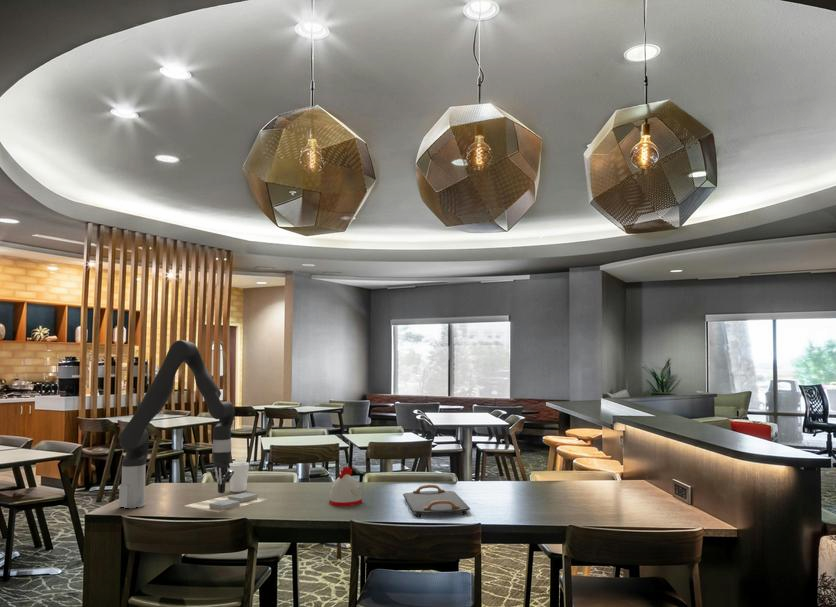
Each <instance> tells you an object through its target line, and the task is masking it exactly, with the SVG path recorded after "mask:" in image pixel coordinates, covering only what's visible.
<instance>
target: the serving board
mask: <svg viewBox="0 0 836 607" xmlns="http://www.w3.org/2000/svg"><path fill="white" fill-rule="evenodd" d="M423 489H437V490H424V491H422V490H423ZM402 496H403V498H404V500H405V501H406V504H407V506H408V508H409V509H410V510H411V512H412V513H415V517H416V518H421V517H422V514H449V513H457V512H461V515H463V516H465V515H468V511H470V510H471V508H470V507H469V505H467V503H466V502H465V501H464V500H463V499H462V498H461V497H460V496H459V494H457V493H456V492H455V491H453V490H452V491H451V490H445V489H442V488H441V487H440V486H438V485H436V484H424V485H420V486H419V487H418V488H417V489H416V490H413V491H411V492H404V493H403V494H402Z"/></svg>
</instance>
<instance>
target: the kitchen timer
mask: <svg viewBox="0 0 836 607" xmlns="http://www.w3.org/2000/svg"><path fill="white" fill-rule="evenodd" d="M352 473H353V468H351V466H343V467H342V470H340V473H338V477H337V478H336V480H335V481H334V482H333V485H331V486H330V492H329V496H328V497H329V498H328V504H329V505H331V506H333V507H352V506H357V505H360V504H362V502H363V496H362V490H361V488H362V487H361V486H359V483H358V482H357V481H356V479H355V478H354V477H353V476H352Z"/></svg>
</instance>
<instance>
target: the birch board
mask: <svg viewBox="0 0 836 607" xmlns="http://www.w3.org/2000/svg"><path fill="white" fill-rule="evenodd" d="M232 495H236V493H233V494H229V495H224V496H220V497H215V498H212V499H207V500H203V501H198V502H194V503H190V504H185V505H184V507H186V508H191V509H192V508H193V509H198V510H200V511H201V510H203V511H208V512H213V513H221V512H224V511H225V512H226V511H230V510H233V509H237V508H241V507H245V506H248V505H252V504H257V503H261V502H265V501H267V500H269V498H263V497H257V499H255V500H251V501H247V502H243V503H240V505H239V506H237V507H233V508H230V509H226V510H218V509H212V508H210V507H209V503H213V502H217V501H222V500H226V499H228V496H232Z"/></svg>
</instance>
